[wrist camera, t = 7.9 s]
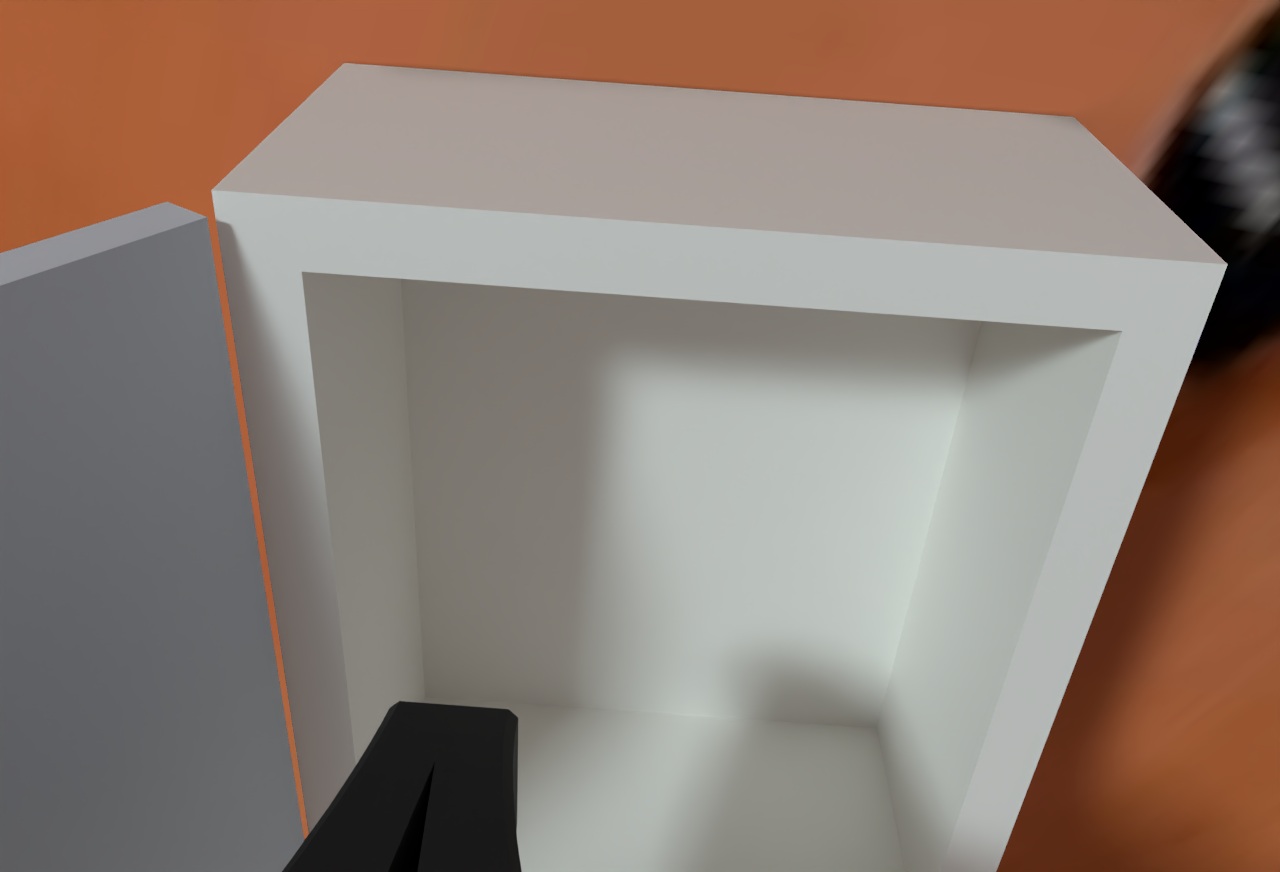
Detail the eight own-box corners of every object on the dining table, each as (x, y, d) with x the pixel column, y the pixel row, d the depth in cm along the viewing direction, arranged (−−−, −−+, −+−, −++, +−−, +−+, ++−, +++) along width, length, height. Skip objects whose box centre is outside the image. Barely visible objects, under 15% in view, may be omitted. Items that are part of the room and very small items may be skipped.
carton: (1073, 117, 15) (1226, 264, 11) (904, 728, 21) (959, 970, 17) (344, 63, 15) (211, 190, 11) (393, 692, 21) (323, 927, 17)
